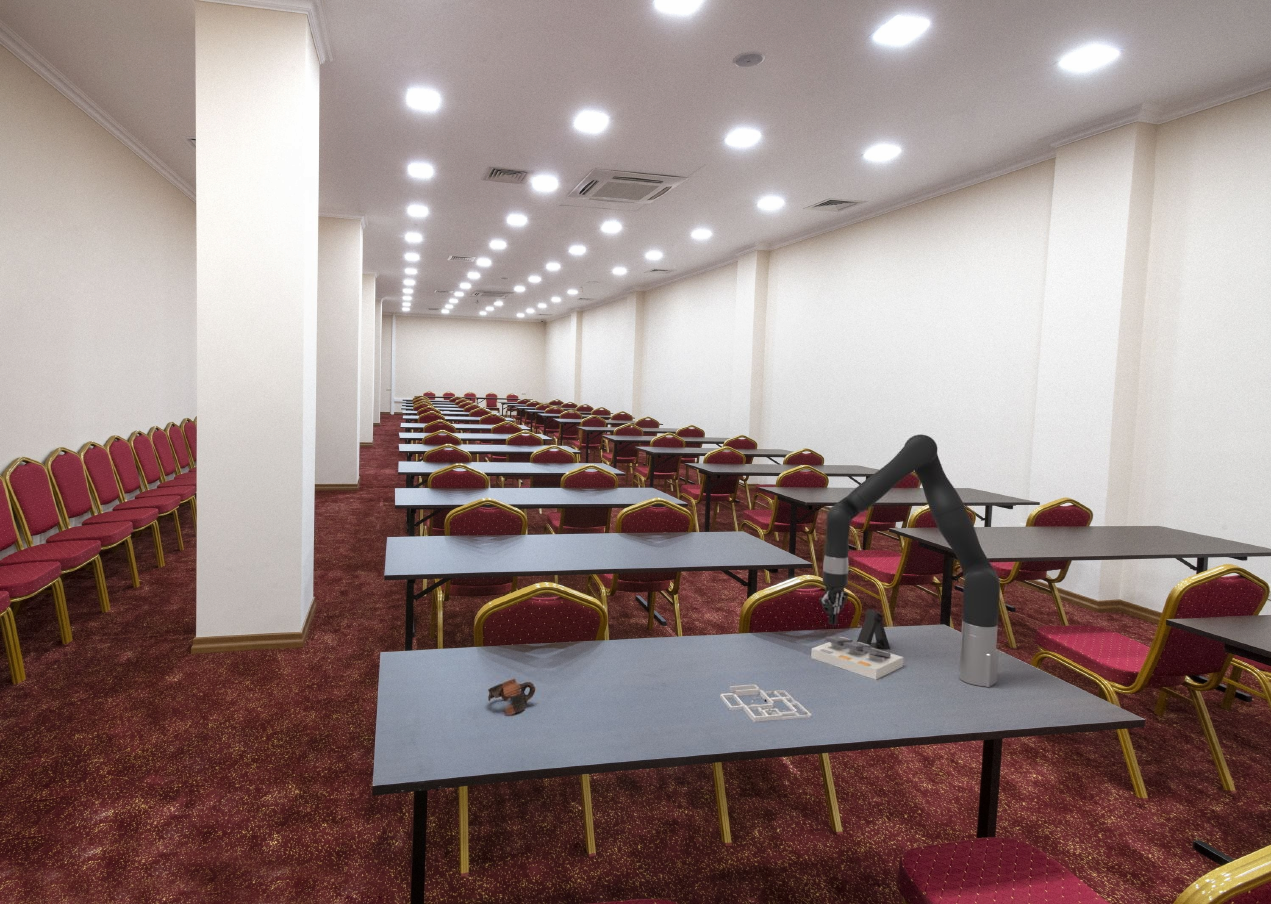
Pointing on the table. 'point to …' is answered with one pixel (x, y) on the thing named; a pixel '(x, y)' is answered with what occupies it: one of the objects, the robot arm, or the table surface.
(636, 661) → the table surface
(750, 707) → the floor plan model
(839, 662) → the switch unit
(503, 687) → the pottery mug
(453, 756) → the table surface
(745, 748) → the table surface
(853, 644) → the block
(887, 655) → the rocker
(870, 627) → the phone stand
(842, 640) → the block
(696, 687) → the table surface
